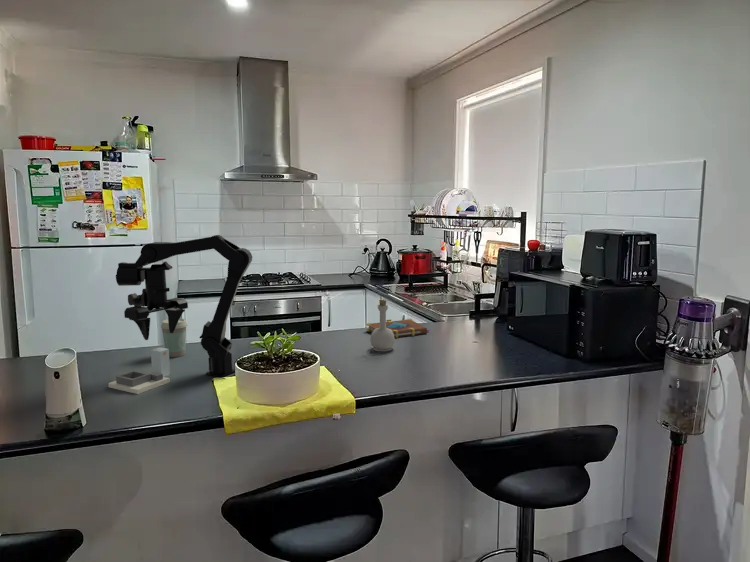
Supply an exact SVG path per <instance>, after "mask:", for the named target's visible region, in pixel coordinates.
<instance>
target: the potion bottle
mask: <svg viewBox="0 0 750 562" xmlns="http://www.w3.org/2000/svg"><path fill="white" fill-rule="evenodd" d="M378 301H379V302H378V303H379V304H377V309H378V311H379V323H380V328H377V329H375V330H374V331H373V332H372V333H371V334H370V339H369V341H370V345H371V347H372V349H373V350H374V351H375V352H376V351H377V352H381V353H382V352H390V351H392V350H393V347H394V345H395V340H396V339H395V338H394V334H393V332H392V330H391V329H388V328H386V322H387V321H386V320H387V311H388V309H389V305H388V304H387V300H385V299H379V300H378Z"/></svg>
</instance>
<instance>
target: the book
mask: <svg viewBox="0 0 750 562" xmlns="http://www.w3.org/2000/svg"><path fill="white" fill-rule="evenodd" d="M365 325H366V326H367V328H365V331H367V332H369V333H371V334H372V332H373V331H374V330H375V329H377V328H380V322H374V323H373V322H367V323H366V324H365ZM386 328H388V329H391V330H392V332H393V334H394V339H395V338H396V339H398V338H402V337H410V336H412V337H413V336H414V337H415V336H419V335H426V334H427V333H430V331H431V330H430V329H428V327H426V326H424V325H422V324H420V323H419V322H416V321H414V320H413V319H412V318H406V319H399V320H393V321H392V319H386Z"/></svg>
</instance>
